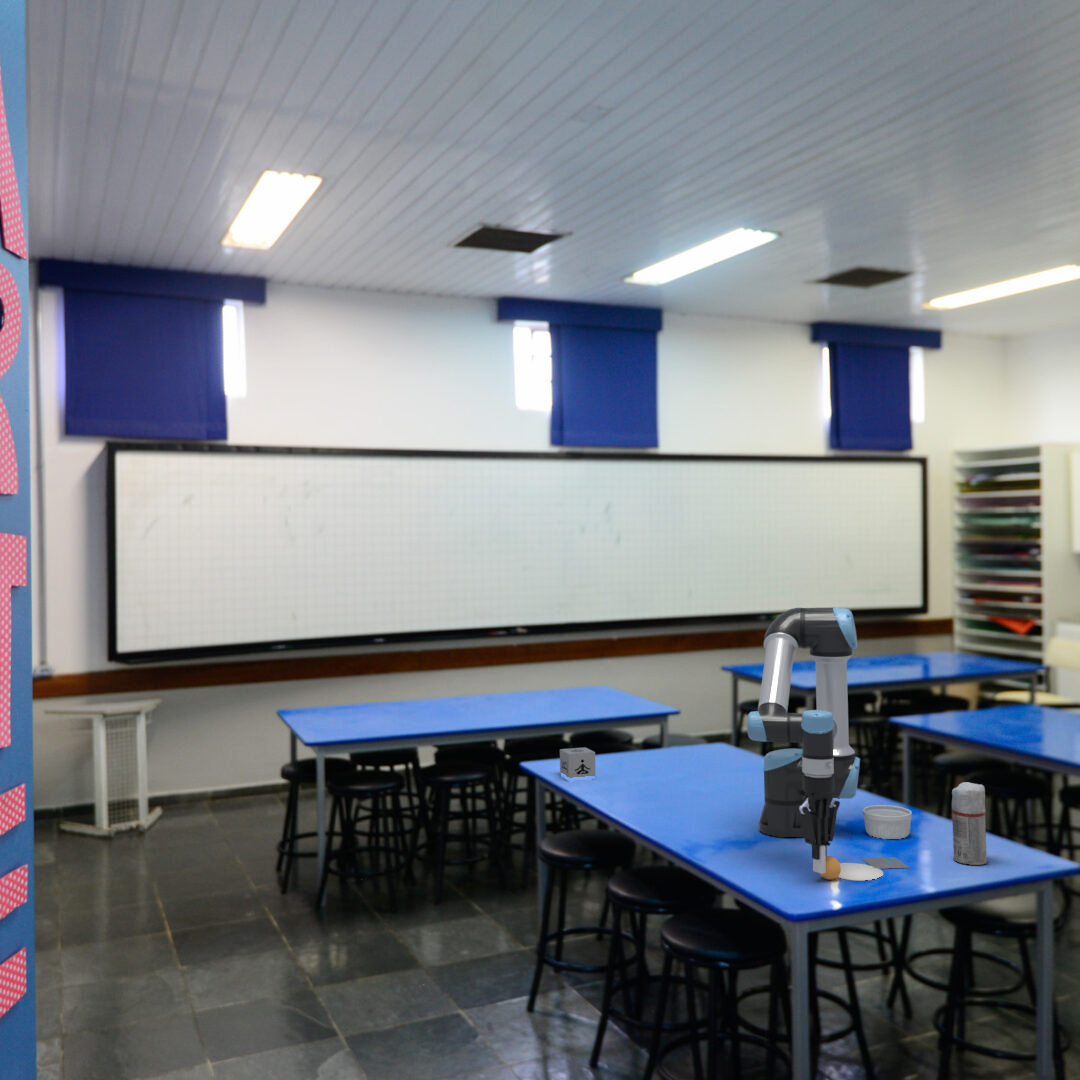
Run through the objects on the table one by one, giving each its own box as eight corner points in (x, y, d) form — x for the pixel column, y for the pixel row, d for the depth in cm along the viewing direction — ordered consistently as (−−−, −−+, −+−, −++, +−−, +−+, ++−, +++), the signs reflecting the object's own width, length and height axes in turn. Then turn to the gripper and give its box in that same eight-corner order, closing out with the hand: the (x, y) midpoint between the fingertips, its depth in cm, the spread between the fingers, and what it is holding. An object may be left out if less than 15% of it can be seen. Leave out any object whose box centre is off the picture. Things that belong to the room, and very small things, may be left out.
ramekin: (880, 843, 280) (880, 818, 280) (853, 831, 293) (853, 807, 293) (922, 839, 284) (921, 814, 284) (893, 827, 296) (893, 803, 296)
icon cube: (560, 776, 372) (559, 749, 372) (585, 774, 375) (585, 747, 376) (569, 782, 363) (569, 754, 363) (595, 779, 366) (595, 752, 366)
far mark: (861, 859, 265) (861, 858, 265) (895, 857, 266) (895, 857, 266) (874, 869, 256) (874, 868, 256) (909, 868, 257) (909, 867, 257)
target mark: (830, 861, 264) (830, 860, 264) (887, 867, 258) (887, 866, 258) (819, 876, 251) (819, 875, 251) (878, 883, 245) (878, 882, 245)
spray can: (988, 867, 256) (986, 788, 257) (953, 864, 259) (951, 786, 260) (986, 858, 264) (985, 781, 264) (952, 855, 267) (951, 779, 267)
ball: (813, 875, 252) (823, 856, 254) (834, 886, 249) (844, 867, 251) (813, 867, 247) (823, 848, 250) (834, 879, 245) (844, 860, 247)
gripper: (811, 780, 242) (812, 880, 241) (848, 774, 249) (849, 871, 248) (788, 775, 248) (789, 872, 247) (824, 769, 255) (825, 864, 254)
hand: (819, 871), depth 247 cm, fingers closed
